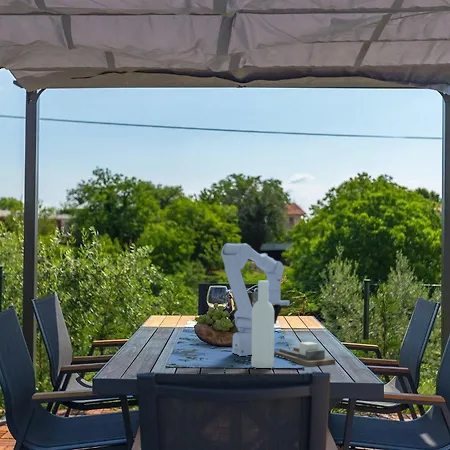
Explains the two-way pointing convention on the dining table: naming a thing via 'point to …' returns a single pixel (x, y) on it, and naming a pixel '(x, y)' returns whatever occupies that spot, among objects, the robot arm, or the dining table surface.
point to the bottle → (262, 329)
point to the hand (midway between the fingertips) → (273, 323)
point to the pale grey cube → (307, 347)
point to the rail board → (306, 362)
